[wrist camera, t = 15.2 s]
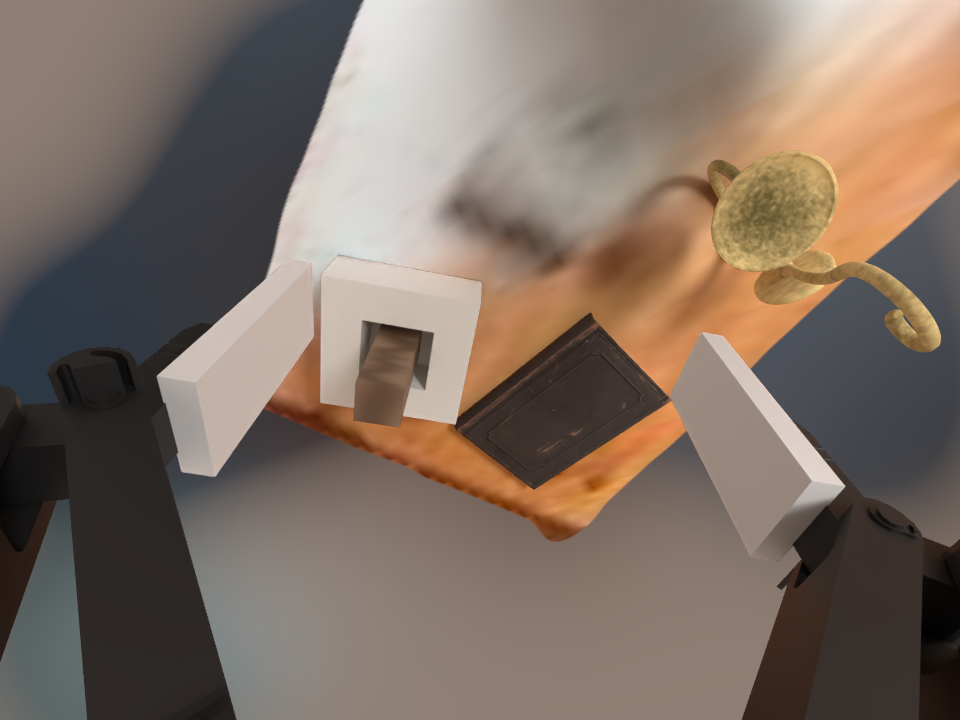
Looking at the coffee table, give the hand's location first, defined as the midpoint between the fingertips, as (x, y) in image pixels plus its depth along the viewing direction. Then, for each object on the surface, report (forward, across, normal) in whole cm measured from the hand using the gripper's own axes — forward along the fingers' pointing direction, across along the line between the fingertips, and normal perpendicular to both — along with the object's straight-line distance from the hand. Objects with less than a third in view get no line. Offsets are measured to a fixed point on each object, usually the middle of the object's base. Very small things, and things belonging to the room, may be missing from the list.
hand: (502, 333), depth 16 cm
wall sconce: (+35, +23, 0) cm, 42 cm away
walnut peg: (+33, -8, -21) cm, 40 cm away
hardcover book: (+35, +13, -28) cm, 47 cm away
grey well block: (+34, -8, -21) cm, 41 cm away
